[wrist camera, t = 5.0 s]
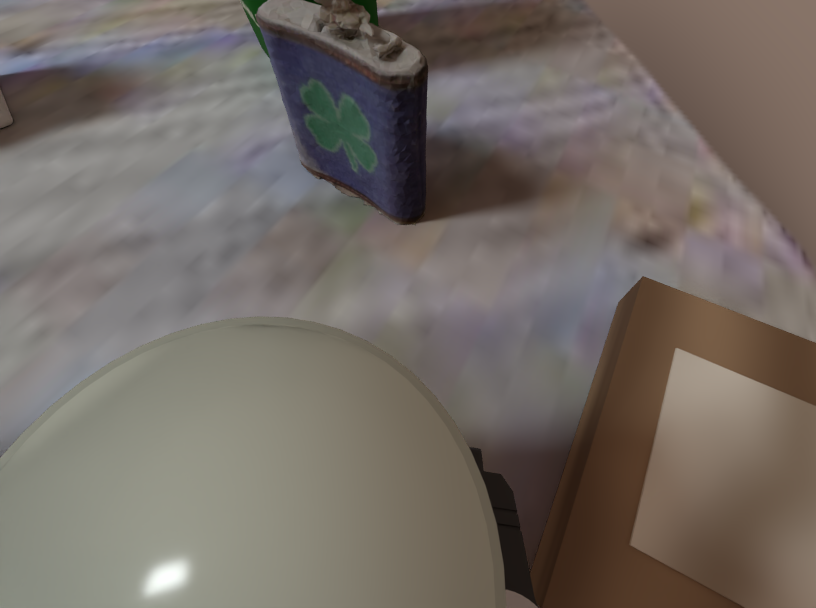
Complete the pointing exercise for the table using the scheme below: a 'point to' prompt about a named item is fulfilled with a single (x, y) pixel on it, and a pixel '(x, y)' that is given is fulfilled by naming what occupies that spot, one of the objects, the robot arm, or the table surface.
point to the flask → (352, 101)
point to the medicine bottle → (4, 112)
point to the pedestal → (688, 466)
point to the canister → (247, 482)
